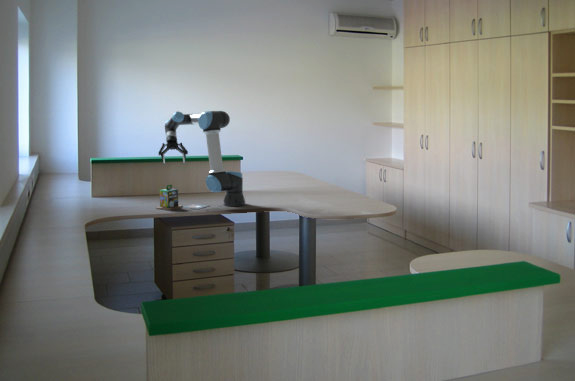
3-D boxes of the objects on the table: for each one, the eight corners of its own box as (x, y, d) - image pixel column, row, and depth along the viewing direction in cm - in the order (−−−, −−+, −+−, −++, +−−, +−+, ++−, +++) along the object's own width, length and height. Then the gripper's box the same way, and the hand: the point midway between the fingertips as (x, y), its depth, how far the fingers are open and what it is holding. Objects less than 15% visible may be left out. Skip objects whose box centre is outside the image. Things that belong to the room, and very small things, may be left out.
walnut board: (183, 207, 432) (183, 205, 432) (172, 210, 420) (171, 208, 420) (167, 205, 437) (167, 204, 437) (155, 208, 426) (155, 207, 426)
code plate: (209, 205, 435) (209, 205, 435) (198, 209, 423) (198, 208, 423) (192, 204, 441) (192, 204, 441) (180, 207, 429) (180, 207, 429)
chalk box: (170, 204, 435) (169, 183, 433) (179, 206, 429) (178, 184, 427) (159, 206, 428) (158, 184, 426) (168, 208, 422) (167, 186, 420)
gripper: (188, 141, 460) (191, 164, 448) (153, 142, 454) (155, 165, 441) (189, 134, 454) (192, 157, 442) (153, 135, 448) (155, 158, 436)
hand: (174, 161), depth 442 cm, fingers open, 13 cm apart
